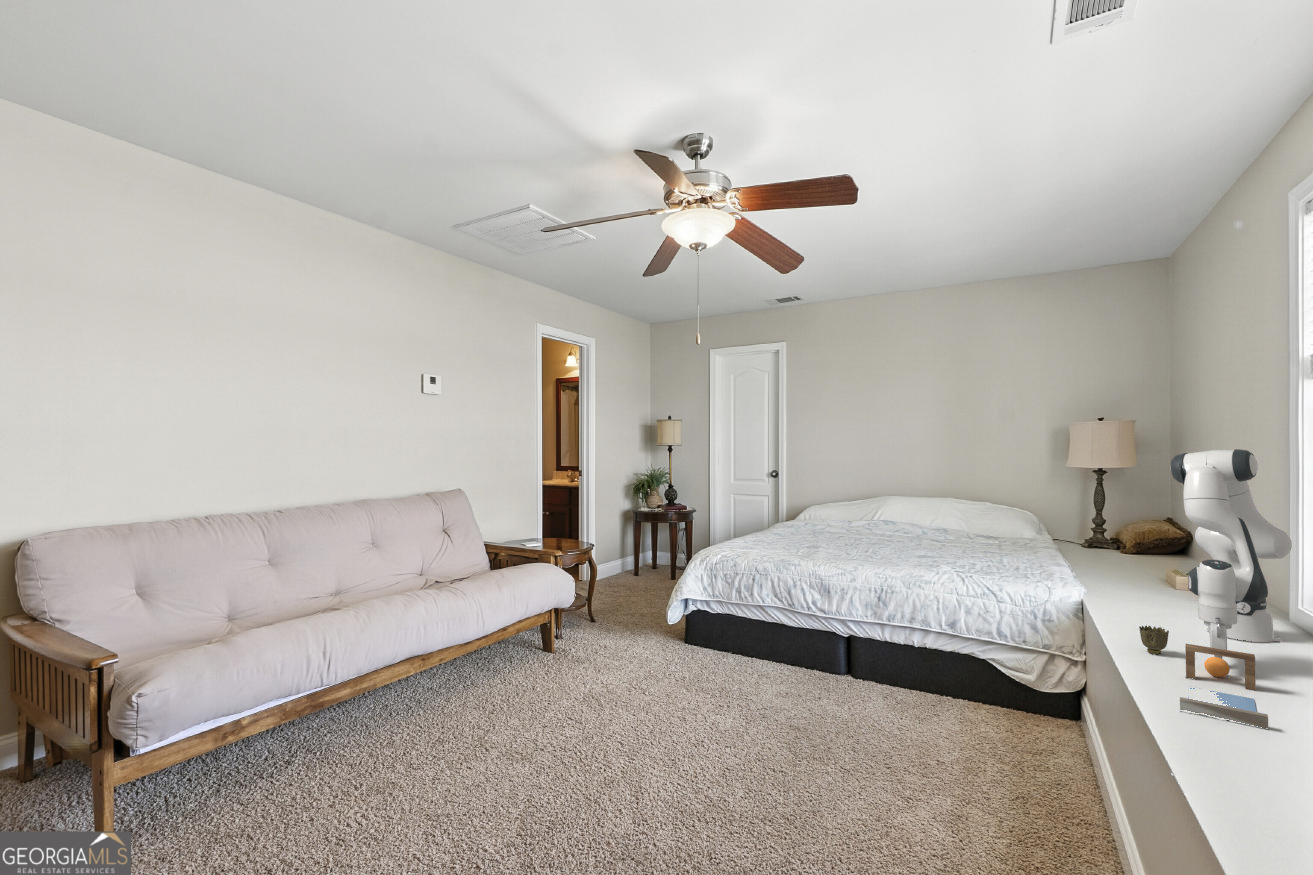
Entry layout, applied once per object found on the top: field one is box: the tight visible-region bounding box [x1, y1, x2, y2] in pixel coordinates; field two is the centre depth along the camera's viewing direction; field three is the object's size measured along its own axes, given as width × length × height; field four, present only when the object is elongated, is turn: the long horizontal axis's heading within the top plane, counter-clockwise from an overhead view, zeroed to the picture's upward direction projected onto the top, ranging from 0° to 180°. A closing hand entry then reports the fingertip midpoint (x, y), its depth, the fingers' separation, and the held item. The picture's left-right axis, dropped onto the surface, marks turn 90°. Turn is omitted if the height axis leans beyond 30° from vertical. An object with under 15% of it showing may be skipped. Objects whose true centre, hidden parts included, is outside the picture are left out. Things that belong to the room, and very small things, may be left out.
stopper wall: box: [1179, 696, 1269, 729], centre depth 153 cm, size 2×16×3 cm, turn 49°
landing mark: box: [1190, 687, 1257, 712], centre depth 164 cm, size 13×13×1 cm
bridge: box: [1184, 643, 1257, 692], centre depth 176 cm, size 3×14×9 cm, turn 49°
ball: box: [1203, 656, 1231, 678], centre depth 180 cm, size 6×6×6 cm
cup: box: [1138, 625, 1170, 656], centre depth 200 cm, size 8×7×8 cm
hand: (1218, 660), depth 188 cm, fingers closed
